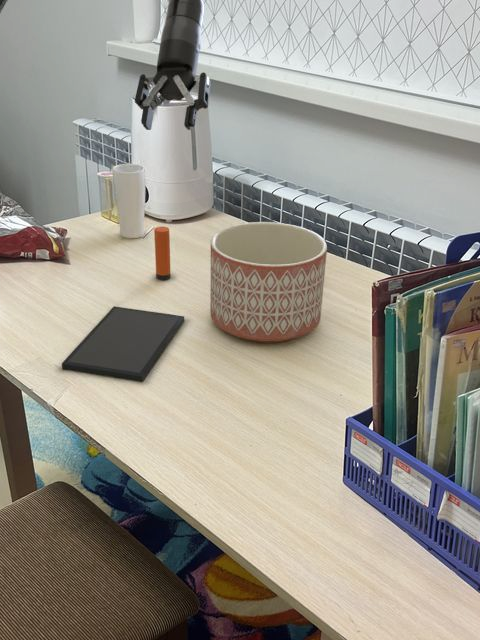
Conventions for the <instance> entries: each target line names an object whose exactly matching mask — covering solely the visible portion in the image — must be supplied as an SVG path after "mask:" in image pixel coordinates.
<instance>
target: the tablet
mask: <svg viewBox="0 0 480 640" xmlns="http://www.w3.org/2000/svg"><path fill="white" fill-rule="evenodd" d="M184 322H185V316H184V315H179V314H178V315H177V314H170V313H163V312H157V311H149V310H143V309H137V308H128V307H121V306H114V305H113V306H112V308H111V309H110V310H109V311H108V312H107V313H106V314H105V315H104V317H102V319H101V320H100V321H99V322H98V323H96V325H95V326H94V327H93V328H92V329H91V331H90V332H89V333H88V334H87V335H86V336H85V337H84V339H82V341H80V343H79V344H78V345H77V346H76V347H75V348H74V350H73V351H71V352H70V354H69V355H68V356H67V357H66V358H65V359H64V360H63V362H62V363H61V368H62V370H67V371H72V372H78V373H79V372H80V373H86V374H91V375H97V376H104V377H111V378H115V379H122V380H129V381H135V382H140V383H141V382H142V383H143V382H144V380H145V379H146V378H147V377H148V375H149V373H150V372H151V371H152V369H153V367H154V366H155V365H156V363H157V362H158V360H159V359H160V357H162V355H163V353H164V351H165V350H166V349H167V347H168V345H169V344H170V343H171V342H172V340H173V338H174V337H175V335H176V334H177V333H178V331H179V330H180V328H181V327H182V325H183V324H184Z"/></svg>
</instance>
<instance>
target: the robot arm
mask: <svg viewBox="0 0 480 640" xmlns="http://www.w3.org/2000/svg"><path fill="white" fill-rule="evenodd" d="M8 1H9V0H0V14H2V12H3V10H4V8H5V6H6V4H7V3H8ZM167 2H168V5H167V8H166V9H167V10H166V15H165V20H164V25H163V28H162V32H161V36H160V43H159V50H158V56H157V63H156V73H155V75H154V76H153V77H152V76H147V75H146V74H144V73H142V74H140V76H139V80H138V84H137V88H136V93H135V98H134V103H135V104H136V105H137V107H138V108H140V110H142V113H141V120H140V122H141V125H142V127H143V128H144V129H145V130H146V131H151V130H152V127H153V121H154V114H155V113H154V111H155V110H156V109H157V107H158V106H161V105H163V103H164V102H165V101H169V102H170V101H173V100H175V101H182V100H183V99H185V101H186V103H187V105H188V106H186V109H185V110H186V111H185V114H184V115H185V117H184V121H183V124H184V125H183V126H184V128H185V129H186V130H187V131H192V130H193V128H194V127H195V126H196V123H197V117H198V112H199V110H201V109H204V110H205V109H208V107H209V103H210V92H211V90H210V89H211V79H210V78H209V76H208V75H207V73H206V72H204V71H203V72H201V73H200V74H199V75H197V69H198V65H199V64H198V63H199V57H200V51H201V44H202V29H203V23H204V15H205V5H204V1H203V0H167ZM195 86H198V92H197V98H196V99H195V98H194V96H193V95H192V93H191V91H192V90H193V88H194V87H195ZM158 94H159V96H158Z"/></svg>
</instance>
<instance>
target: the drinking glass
mask: <svg viewBox="0 0 480 640" xmlns="http://www.w3.org/2000/svg"><path fill="white" fill-rule="evenodd" d="M112 185H113V193H114V197H115V198H114V199H115V205H116V212H117V218H118V224H119V225H118V226H119V234H120V235H121V236H122V237H123V238H124V239H125V238H126V239H138V238H142V237H144V235H145V214H146V213H145V211H146V191H147V190H146V169H145V167H144V166H143V165H141V164H136V163H121V164H118V165H114V166H113V167H112Z"/></svg>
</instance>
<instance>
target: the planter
mask: <svg viewBox="0 0 480 640" xmlns="http://www.w3.org/2000/svg"><path fill="white" fill-rule="evenodd" d="M327 253H328V245H327V241H325V239H324V238H323V237H322V236H321V235H320V234H318V233H317V232H315V231H313V230H311V229H308V228H305V227H303V226H299V225H294V224H289V223H283V222H273V221H251V222H243V223H238V224H237V223H236V224H233V225H229V226H227V227H223V228H221V229H220V230H218V231H216V232H215V233H214V234H213V235H212V236H211V239H210V286H209V287H210V288H209V289H210V291H209V292H210V297H209V298H210V299H209V300H210V301H209V302H210V309H209V310H210V312H209V313H210V318H211V320H212V322H213V323H214V324H215V325H216V326H217V327H218V328H219V329H221V330H223V331H224V332H226V333H228V334H230V335H232V336H234V337H237V338H239V339H241V340H245V341H249V342H255V343H264V344H275V343H282V342H287V341H291V340H294V339H296V338H300V337H303V336H305V335H307V334H310V333H311V332H312V331H313V330H314V329H315V328H317V326H318V325H319V323H320V322H321V318H322V317H321V316H322V305H323V294H324V285H325V275H326V274H325V273H326V263H327V261H326V260H327Z"/></svg>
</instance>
